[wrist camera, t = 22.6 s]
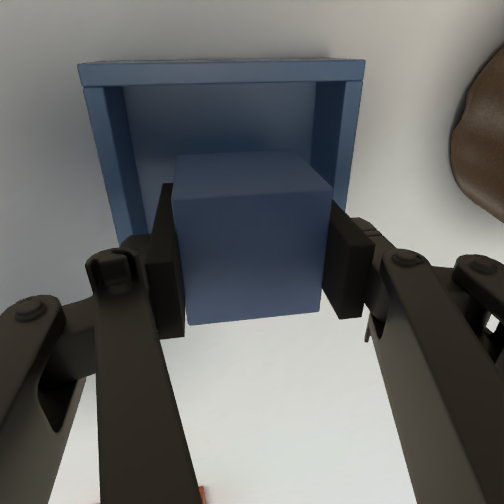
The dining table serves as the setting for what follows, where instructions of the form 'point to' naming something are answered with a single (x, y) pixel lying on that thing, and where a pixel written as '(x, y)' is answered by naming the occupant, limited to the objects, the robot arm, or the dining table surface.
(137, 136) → the blue bin
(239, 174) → the blue block
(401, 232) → the dining table surface
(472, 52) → the dining table surface
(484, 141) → the plant pot
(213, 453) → the dining table surface
